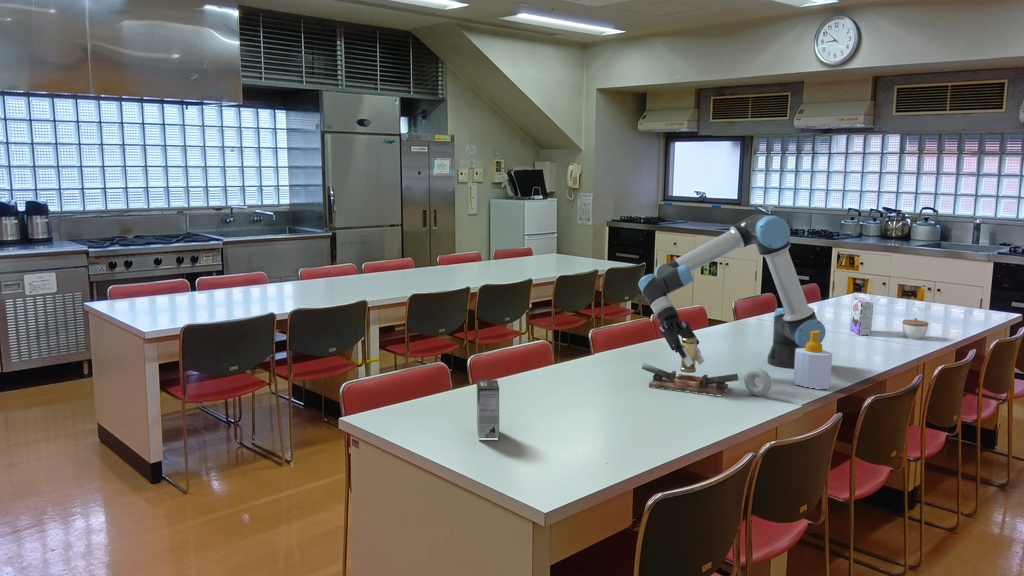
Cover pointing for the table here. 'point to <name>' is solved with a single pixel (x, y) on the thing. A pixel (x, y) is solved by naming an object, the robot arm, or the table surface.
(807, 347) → the soap bottle
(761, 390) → the donut
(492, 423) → the coffee box
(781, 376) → the table surface
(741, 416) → the table surface
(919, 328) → the lidded jar
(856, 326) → the candy box
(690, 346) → the cylinder
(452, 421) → the table surface
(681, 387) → the shaft stand
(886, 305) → the table surface
